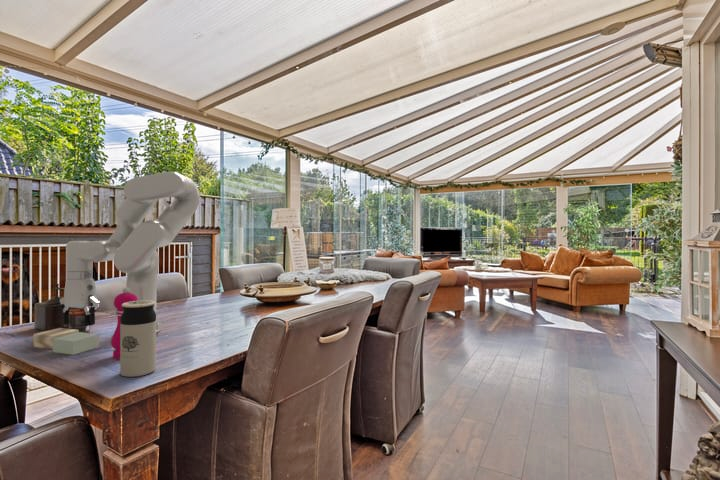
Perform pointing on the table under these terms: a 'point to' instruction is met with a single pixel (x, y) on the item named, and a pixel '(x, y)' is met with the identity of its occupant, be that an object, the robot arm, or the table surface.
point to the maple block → (51, 337)
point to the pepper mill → (118, 304)
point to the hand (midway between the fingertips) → (79, 324)
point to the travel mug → (137, 338)
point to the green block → (75, 343)
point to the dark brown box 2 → (50, 313)
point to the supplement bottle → (78, 320)
